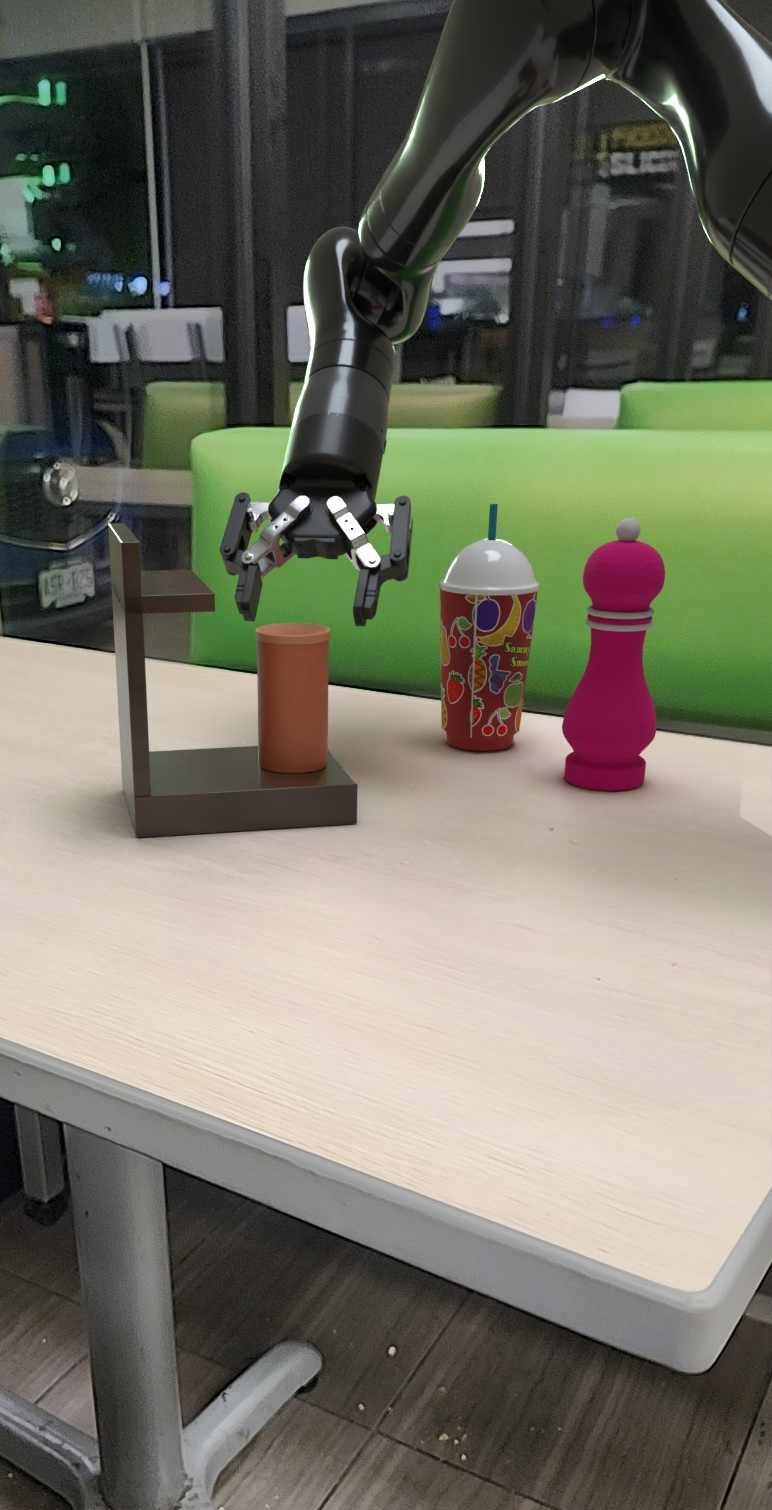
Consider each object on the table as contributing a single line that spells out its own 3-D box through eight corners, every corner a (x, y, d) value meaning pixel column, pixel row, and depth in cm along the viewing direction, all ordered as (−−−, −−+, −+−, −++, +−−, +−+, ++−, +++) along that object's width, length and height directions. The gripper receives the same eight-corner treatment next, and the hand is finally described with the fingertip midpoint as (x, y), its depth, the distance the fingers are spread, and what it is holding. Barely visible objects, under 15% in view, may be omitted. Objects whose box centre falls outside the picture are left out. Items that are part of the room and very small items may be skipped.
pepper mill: (646, 797, 102) (676, 524, 94) (551, 788, 104) (573, 521, 96) (653, 772, 108) (683, 514, 100) (564, 764, 110) (585, 512, 102)
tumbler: (320, 753, 102) (321, 621, 98) (335, 771, 98) (337, 634, 94) (251, 756, 102) (249, 624, 98) (263, 775, 97) (262, 637, 93)
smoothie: (524, 758, 112) (543, 509, 104) (426, 753, 114) (437, 507, 106) (530, 734, 120) (547, 500, 111) (437, 729, 121) (448, 499, 113)
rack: (321, 778, 107) (323, 518, 99) (357, 824, 96) (362, 535, 88) (122, 790, 104) (108, 523, 96) (136, 838, 93) (121, 542, 85)
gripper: (239, 408, 102) (199, 583, 97) (423, 409, 99) (392, 589, 93) (257, 476, 109) (221, 643, 103) (430, 479, 106) (402, 651, 100)
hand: (302, 617), depth 98 cm, fingers open, 8 cm apart
